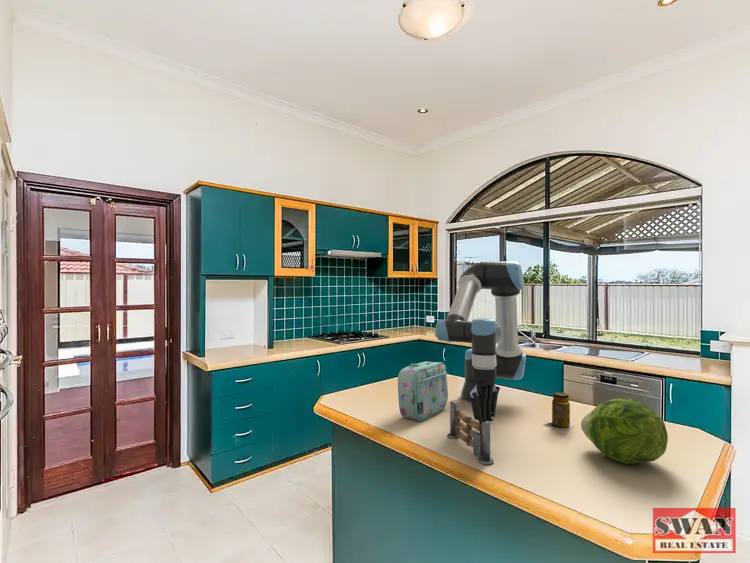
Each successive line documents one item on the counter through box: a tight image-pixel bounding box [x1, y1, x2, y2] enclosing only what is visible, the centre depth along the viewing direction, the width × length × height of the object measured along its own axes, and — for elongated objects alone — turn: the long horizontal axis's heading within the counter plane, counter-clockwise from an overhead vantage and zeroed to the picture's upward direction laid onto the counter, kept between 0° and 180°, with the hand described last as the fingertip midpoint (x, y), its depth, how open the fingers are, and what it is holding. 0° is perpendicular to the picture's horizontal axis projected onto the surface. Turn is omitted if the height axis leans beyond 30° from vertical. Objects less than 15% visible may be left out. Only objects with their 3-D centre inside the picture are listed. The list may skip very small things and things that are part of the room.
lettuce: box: [580, 398, 669, 465], centre depth 120 cm, size 19×23×18 cm
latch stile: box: [472, 420, 495, 466], centre depth 119 cm, size 4×6×12 cm
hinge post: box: [446, 400, 460, 440], centre depth 137 cm, size 4×4×12 cm
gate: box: [455, 409, 482, 448], centre depth 128 cm, size 16×1×9 cm, turn 19°
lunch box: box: [397, 361, 449, 422], centre depth 161 cm, size 27×10×21 cm, turn 143°
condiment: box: [543, 391, 575, 432], centre depth 148 cm, size 7×8×12 cm
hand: (484, 440), depth 126 cm, fingers closed
